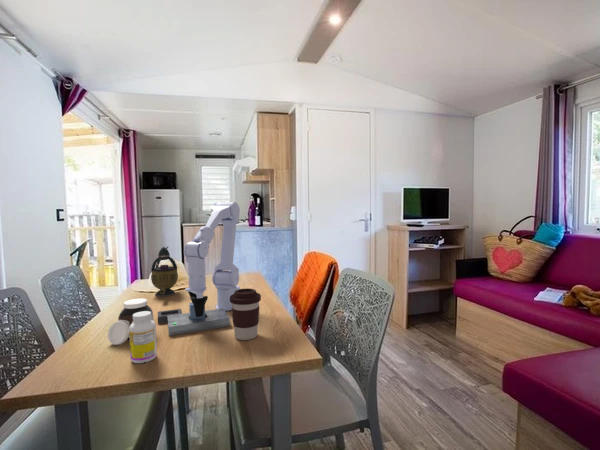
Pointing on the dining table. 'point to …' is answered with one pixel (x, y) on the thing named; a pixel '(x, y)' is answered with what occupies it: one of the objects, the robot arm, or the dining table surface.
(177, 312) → the holster
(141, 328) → the supplement bottle
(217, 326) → the panel
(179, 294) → the dining table surface
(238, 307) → the coffee cup
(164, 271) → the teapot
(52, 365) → the dining table surface
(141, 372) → the dining table surface
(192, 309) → the plug
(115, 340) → the spread jar
